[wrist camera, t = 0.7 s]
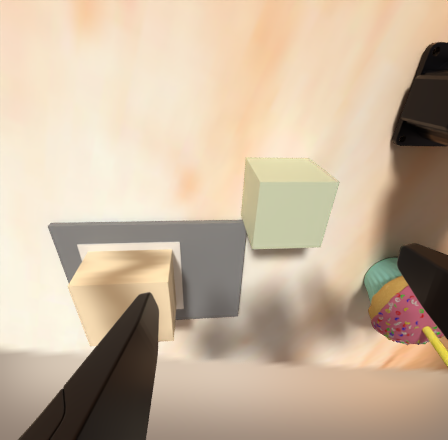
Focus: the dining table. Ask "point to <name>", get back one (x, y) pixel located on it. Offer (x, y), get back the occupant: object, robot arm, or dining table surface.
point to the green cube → (286, 202)
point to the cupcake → (399, 308)
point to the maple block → (123, 289)
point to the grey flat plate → (182, 257)
